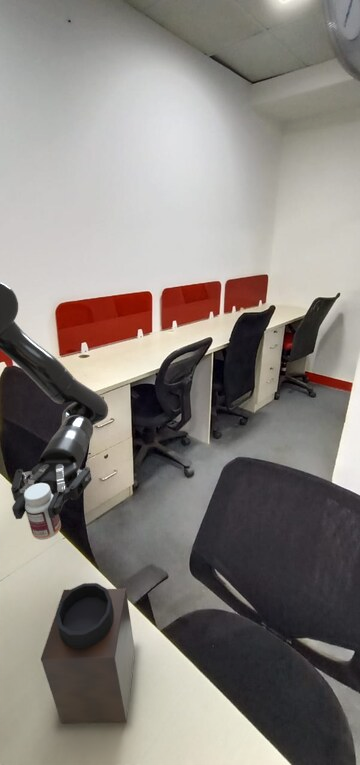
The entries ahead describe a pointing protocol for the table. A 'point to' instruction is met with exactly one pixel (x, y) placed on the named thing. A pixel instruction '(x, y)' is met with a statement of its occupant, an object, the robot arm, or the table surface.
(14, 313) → the robot arm
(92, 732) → the table surface
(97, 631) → the collar
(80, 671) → the stand
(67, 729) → the table surface
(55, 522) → the pill bottle
